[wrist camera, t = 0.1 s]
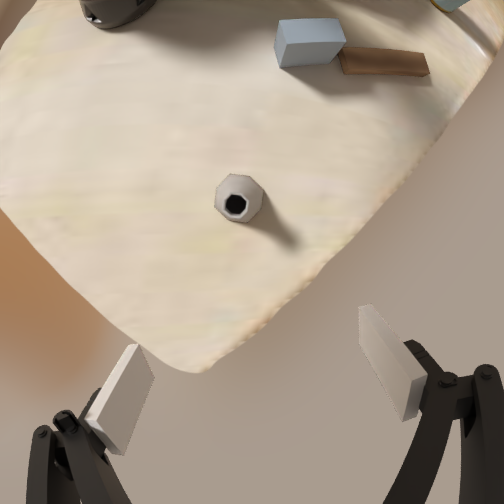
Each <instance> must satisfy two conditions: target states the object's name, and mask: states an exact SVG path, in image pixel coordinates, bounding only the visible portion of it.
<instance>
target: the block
mask: <svg viewBox="0 0 504 504" xmlns="http://www.w3.org/2000/svg"><path fill="white" fill-rule="evenodd" d="M338 56H339V59H340V62H341V66H342V69H343V73H344V74H391V75H408V76H420V77H423V76H426V75H428V74H430V72H429V68H428V65H427V62H426V59H425V56H424V53H418V52H410V51H402V50H392V49H379V48H359V47H342V48H341V49H340V51H339V52H338Z"/></svg>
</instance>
